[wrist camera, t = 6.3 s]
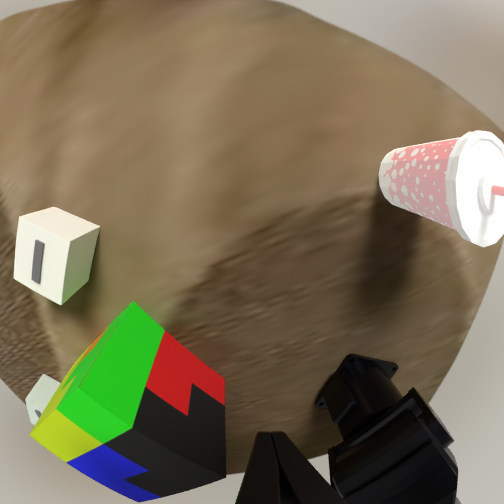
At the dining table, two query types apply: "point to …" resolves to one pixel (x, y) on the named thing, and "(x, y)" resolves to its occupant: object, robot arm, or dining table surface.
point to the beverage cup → (451, 184)
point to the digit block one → (54, 252)
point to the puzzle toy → (138, 413)
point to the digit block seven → (40, 397)
